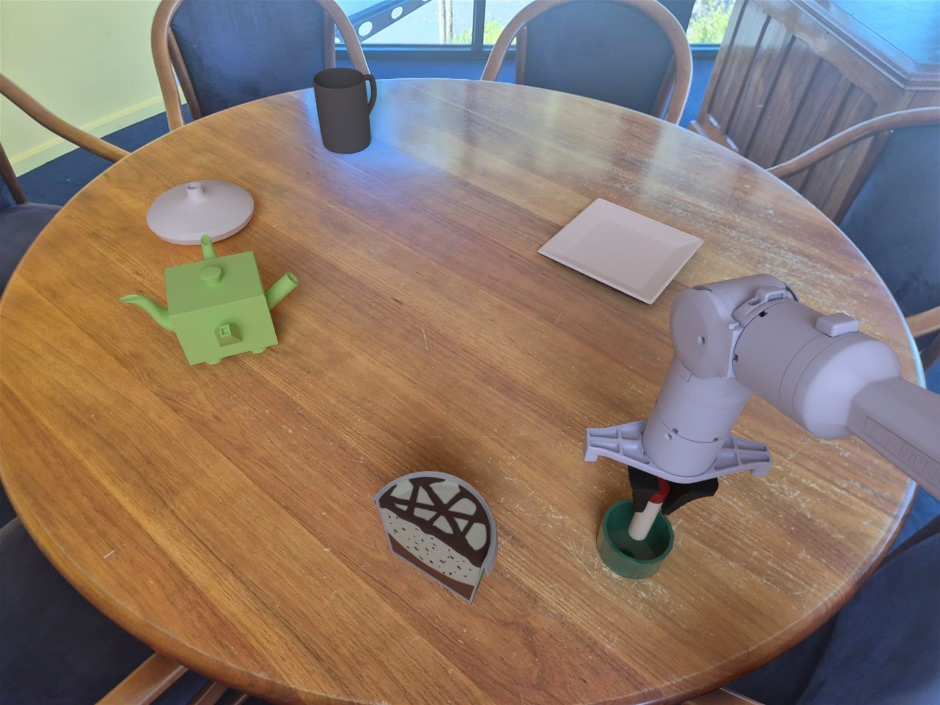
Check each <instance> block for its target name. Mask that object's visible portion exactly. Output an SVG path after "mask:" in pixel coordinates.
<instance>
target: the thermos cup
mask: <svg viewBox="0 0 940 705" xmlns="http://www.w3.org/2000/svg"><path fill="white" fill-rule="evenodd" d="M634 514H635V511H634V508H633V498H623V499H621V500H618V501H616V502H614V503H612V504H611V505H610V506H609V507H608V509H606V511H605V512H604V515H603V518H602V519H601V522H600V525H599V528H598V532H597V535H596V548H597V553H598V554H599V557H600V559H601V560H602V562H603V563H604V565H606V566H607V568H608V569H610V570H611V571H612V573H615V574H616V575H618V576H620V577H622V578H624V579H625V578H626V579H629V580H644V579H648V578H650V577H653V576H654V575H656V574H657V573H658V572H659V571H660V569H661V568H662V567H663V565H664V564H665V562H666V561H667V559H668V557H669V556H670V555H671V552H672V550H673V549H674V542H675V538H676V537H675V533H674V530H673V525H672V522H671V521H670V519H669V518H668V517H667V515H662V512H661V509H660V510H659V512H658V514H657V516H656V518H655V520H654V522H653V524H652V526H651V528H650V530H649V532H648V534H647V536H646V538H645V539H643V540H635V539H633V538H632V537H631V536H630V535H629V532H628V528H629V525H630V523H631V521H632V519H633V516H634Z"/></svg>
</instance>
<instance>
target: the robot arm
mask: <svg viewBox="0 0 940 705" xmlns="http://www.w3.org/2000/svg"><path fill="white" fill-rule="evenodd" d="M668 317H669V318H668V321H669V322H668V323H669V326H668V327H669V334H670V338H671V343H672V345H673V348H674V352H673V355H672V357H671V360H670V362H669V364H668V367H667V370H666V372H665V375H664V378H663V379H662V383H661V385H660V388H659V389H658V390H659V391H658V393H657V396H656V398H655V401H654V404H653V406H652V408H651V412H650V414H649V417H648V418H645V419H639V420H636V421H631V422H627V423H622V424H617V425H616V424H615V425H611V426H605V427H597V428H596V427H586V428H585V433H584V436H583V440H582V448H583V449H582V453H583V461H584V462H592V463H595V462H597V461H598V458H599V456H600V457H605V458H609V459H611V460H614V461H617V462H620V463H622V464H625V465H627V472H628V481H629V485H630V489H632V491H631V497H632V498H631V499H633V508H634V511H635V512H639V513H642V512H643V511H644V510H645V508H646V506H647V503H648V501H649V499H650V498H651V497H652V496H653V495H654V494H655V493H657V492H659V491H660V485H659V478H658V477H661V478H663V479H665V480H666V481H667V482H668V484H669V486H670V491H669V493H668V495H667V497H666V499H665V501H664V502H663V504H662V506H661V508H660V510H661V512H662V515H665V516H670V515H671V514H673V513H674V512H676V511H677V510H679V509H681V507H683V506H685V505H687V504H688V503H690V502H693V501H696V500H699V499H702V498H709V497H714V496H715V494H716V493H717V491H718V490H719V487H720V484H719V477H723V476H727V475H733V474H737V473H740V472H744V471H749V473H750V475H752V476H753V477H759V478H760V477H761V478H765V477H766V475H767V474H768V473H769V471H770V470H771V469H772V467H773V465H774V461H773V456H772V454H771V451H770V447H769V444H768V443H765V442H758V441H754V440H750V439H746V438H743V437H740V436H737V435H734V434H731V432H732V430H733V428H734V427H735V425H736V423H737V421H738V419H739V418H740V415H741V414H742V412H743V410H744V408H745V407H746V406H747V404H748V402H749V399H750V398H751V396H752V394H755V395H756V396H758V397H759V398H760V399H761V400H763V401H765V402H766V403H767V404H769V405H770V406H772V407H773V408H774V409H776V410H777V411H778V412H780V413H781V414H783V415H784V416H786V417H787V418H789V419H790V420H792V421H793V422H794V423H796V424H797V425H798V426H800V427H801V428H803V429H804V430H806V431H807V432H808V433H810V434H811V435H813V436H814V437H816V438H819V439H821V440H829V441H836V440H844V439H847V438H851V437H854V436H855V437H856V438H858V439H859V440H860V441H861V442H863V443H864V444H866V445H867V446H868V447H869V448H871V449H872V450H873V451H874V452H876V453H877V454H878V455H880V456H881V457H882V458H884V459H885V460H886V461H887V462H889V463H890V464H892V466H894V467H895V468H896V469H897V470H899V472H901V473H903V474H904V475H905V476H907V477H908V478H909V479H910V480H912V481H913V482H914V483H916V484H917V485H918V486H919V487H921V488H922V489H923V490H924V491H926V492H927V493H929V494H930V495H931V496H932V497H934V498H935V499H936V500H937V501H939V502H940V394H938V393H936V392H933V391H932V390H929V389H927V388H925V387H922V386H920V385H918V384H916V383H914V382H911V381H909V380H907V379H905V378H904V375H903V369H902V365H901V362H900V360H899V357H898V354H897V353H896V351H895V350H894V348H893V347H891V345H889V344H888V343H886V342H884V341H882V340H880V339H877V338H875V337H873V336H871V335H869V334H867V333H865V332H863V331H860V330H859V326H860V321H859V319H857V318H855V317H852V316H850V315H848V314H847V313H844V312H836V313H831V314H824V313H823V312H821V311H818V310H817V309H814V308H813V307H810V306H808V305H806V304H804V303H802V302H801V299H800V297H799V295H798V293H797V292H796V291H795V289H794V288H792V286H790V285H789V284H788V283H787V282H786V281H783V280H780V279H779V278H777V276H774V275H773V274H769V273H758V274H752V275H747V276H741V277H735V278H730V279H723V280H719V281H712V282H707V283H702V284H696V285H693V286H691V287H687V288H683V289H682V290H680V291H678V292H677V293H676V295H675V297H674V298H673V300H672V302H671V306H670V309H669V315H668Z"/></svg>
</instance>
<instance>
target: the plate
mask: <svg viewBox="0 0 940 705" xmlns="http://www.w3.org/2000/svg"><path fill="white" fill-rule="evenodd" d="M704 243H705V240H704V239H702V238H701V237H698V236H695V235H692V234H690V233H687V232H685V231H682V230H680V229H678V228H675V227H673V226H670V225H668V224H666V223H662V222H661V221H658V220H656V219H653V218H650V217H648V216H647V215H646V216H645V215H643V214H641V213H638V212H635V211H633V210H632V209H631V210H630V209H628V208H626V207H623V206H621V205H618V204H616V203H614V202H611V201H609V200H606V199H604V198H602V197H596V198H595V199H594V200H593V201H592V202H591V203H589V204H588V206H586V207H585V208H584V209H582V211H580V212H579V213H578V214H577V215H575V217H573V219H571V220H570V221H569V222H568V223H567V224H566V225H564V226H563V227H562V228H561V229H560V230H559V231H558V232H556V234H554V235H553V236H552V237H551V238H550V239H549V240H547V241H546V242H545V243H544V244H543V245H542V246H541V247H539V249H537V253H538V254H539V255H540V256H542V257H545V258H546V259H549V260H551V261H552V262H553V261H554V262H555V263H558V264H559V265H561V266H564V267H565V268H568V269H570V270H572V271H574V272H576V273H578V274H581V275H583V276H585V277H587V278H589V279H591V280H594V281H596V282H598V283H600V284H602V285H605V286H606V287H609V288H611V289H613V290H615V291H618V292H619V293H621V294H623V295H626V296H628V297H631V298H633V299H635V300H637V301H639V302H641V303H643V304H645V305H647V306H648V305H653V303H654V302H655V301H656V300H657V298H659V296H660V295H661V294H662V293H663V291H665V289H666V287H668V285H669V284H670V283H671V282H672V280H673V279H674V278H676V276H677V275H678V274H679V272H680V271H682V269H683V268H684V266H685V265H687V263H688V262H689V260H690V259H691V258H692V257H693V256H694V254H696V252H697V251H698V250H699V249H700V247H701V246H702V245H703V244H704Z"/></svg>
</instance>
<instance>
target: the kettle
mask: <svg viewBox="0 0 940 705" xmlns="http://www.w3.org/2000/svg"><path fill="white" fill-rule="evenodd" d="M200 246H201V251H202V257H203V260H199V261H195V262H191V263H184V264H179V265H175V266H170V267H167V268H164V269H163V271H164V281H165V282H164V283H165V292H166V302H167V307H165V306H162V305H160V304H158V302H156V300H153V299H152V298H150V297H149V296H147V295H144V294H137V293H134V294H128V295H124V296H121V297H120V298H118V302H119V303H124V304H131V305H135V306H138V307H140V308H141V309H143V311H145V312H146V313H147V314H148V315H149V316H150V317H151V318H152V319H153V320H154V321H155V322H156V323H157V324H158V325H159V326H160V327H161V328H162V329H164V330H166V331H169V332H172V333H175V335H176V337H177V339H178V341H179V344H180V346H181V348H182V350H183V352H184V355H185V357H186V359H187V361H188V364H189V365H190V366H194V365H198V364H202V363H206V364H208V365H217V364H219V363H220V362H221V361H222V360H223V359H224V358H226V357H231V356H235V355H239V354H244V353H247V352H250V353H253V354H260V353H263V352H264V351H266V350H267V348H268V347H272V346H276V345H279V341H278V337H277V333H276V332H277V331H276V329H275V325H274V320H273V316H272V313H271V310H272V309H273V308H274V307H275V306H276V305H277V304H278V303H280V302H281V301H282V300H283V299H284V298H285V297H287V296H288V295H289V294H290V293H291V292H292V291H294V290H295V289H296V288H297V287H298V286H300V281H299V279H298V278H297V277H296V276H295V275H294V274H293V273H291V272H288V271H287V272H286V273H285V274H283V275H282V276H281V277H280V278H279V279H278V280H277V281H276V282H274V284H273V285H272V286H270V287H268V289H267V290H266V291H265V288H264V284H263V280H262V277H261V273H260V270H259V266H258V263H257V260H256V255H255V252H254V250H250V251H244V252H240V253H234V254H229V255H225V256H220V257H219V256H218V254H217V252H216V250H215V247H214V243H212V241H211V238H210V237H209V236H208V235H203V236H202V237H201V245H200Z"/></svg>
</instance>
